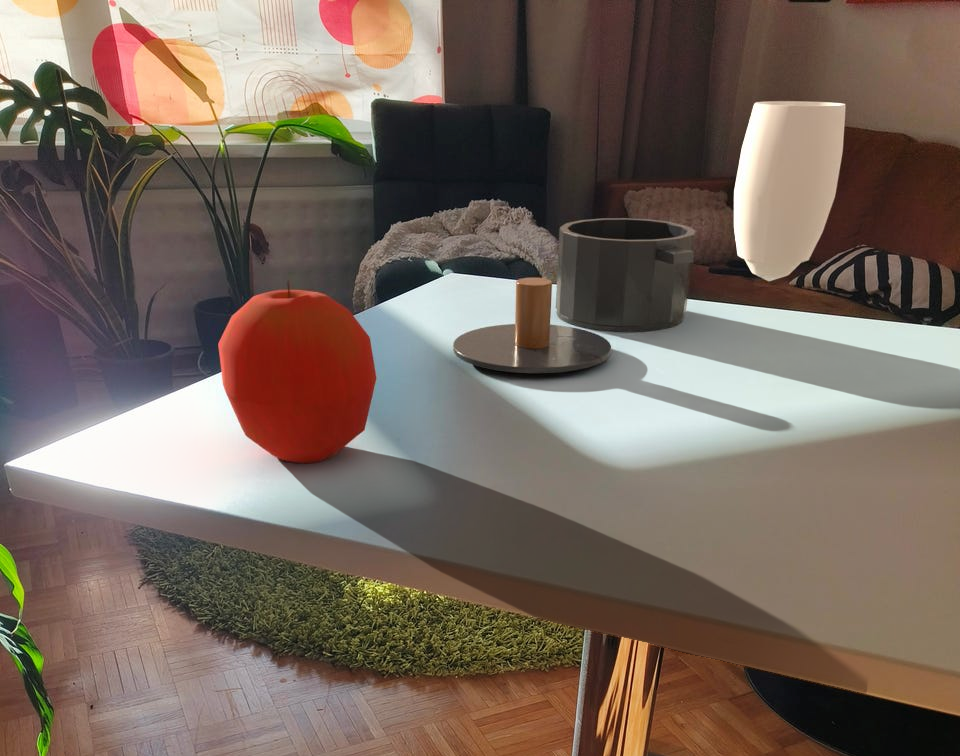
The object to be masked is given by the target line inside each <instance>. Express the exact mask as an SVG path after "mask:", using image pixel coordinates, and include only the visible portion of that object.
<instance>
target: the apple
mask: <svg viewBox="0 0 960 756" xmlns="http://www.w3.org/2000/svg"><path fill="white" fill-rule="evenodd" d="M286 284H287V289H278V290H272V291H267V292H264V293H260V294H256V295H254V296H252V297H251V298H250V299H249V300H248V301H246V303H244V304H243V305H242V306H241V307H240V308H238V310H237V311H236V312H235V313H233V314H232V315H231V316H230V319H229V321H228V323H227V324H226V327H225V329H224V331H223V333H222V335H221V337H220V339H219V342H218V352H219V363H220V372H221V380H222V386H223V388H224V392H225V394H226V396H227V399H228V401H229V403H230V405H231V408H232V410H233V412H234V414H235V416H236V419H237V421H238V423H239V425H240V428H241V430H242V432H243V433H244V435H245V437H246V438H248V440H251V441H252V442H253V443H255V444H256V445H258V446H259V447H260V448H262V449H263V450H265V451H266V452H267V453H269V454H270V455H271V456H273V457H275V458H277V459H278V460H281V461H286V462H291V463H300V464H311V463H320V462H322V461H325V460H327V459H330V458H332V457H333V456H335V455H336V454H337V453H338V452H339V451H341V450H342V449H343V448H344V447H346V446H347V445H348V444H349V443H351V442H352V441H353V440H354V439H356V438H357V437H358V436H359V435H360V434H362V433H363V432H364V431H365V430H366V425H367V421H368V416H369V414H370V408H371V404H372V400H373V394H374V391H375V387H376V382H377V372H376V366H375V360H374V353H373V349H372V342H371V336H369V334H368V333H367V331H366V330H365V329H364V328H363V326H362V325H361V324H360V322H359V321H358V320H357V318H356V317H355V316H354V314H353V313H352V312H351V311H350V310H349V309H348V308H347V307H345V306H344V305H342V304H340V303H339V302H337V301H336V300H335V299H333V298H332V297H330V296H329V295H327V294H325V293H321V292H319V291H312V290H311V291H310V290H303V289H291V288H290V280H289V279H288V280H287V281H286Z"/></svg>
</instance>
